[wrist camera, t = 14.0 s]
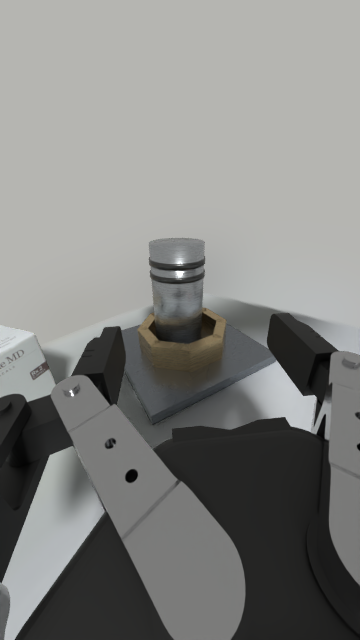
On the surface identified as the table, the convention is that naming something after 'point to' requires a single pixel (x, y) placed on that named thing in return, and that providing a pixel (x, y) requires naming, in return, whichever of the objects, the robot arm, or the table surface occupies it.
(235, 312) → the table surface
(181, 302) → the piston
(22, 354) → the skincare box
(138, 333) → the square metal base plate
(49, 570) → the table surface
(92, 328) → the table surface
